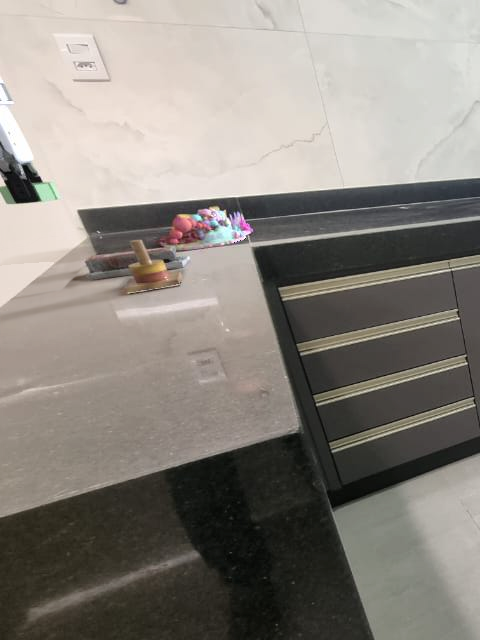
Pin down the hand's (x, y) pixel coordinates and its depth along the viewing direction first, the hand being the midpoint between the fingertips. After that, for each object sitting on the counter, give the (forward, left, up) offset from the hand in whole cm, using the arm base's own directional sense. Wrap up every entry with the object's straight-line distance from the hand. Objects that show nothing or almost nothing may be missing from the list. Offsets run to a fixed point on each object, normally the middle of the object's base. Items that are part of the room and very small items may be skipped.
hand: (33, 199), depth 100 cm
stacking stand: (+11, +2, -20) cm, 23 cm away
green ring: (0, 0, 0) cm, 0 cm away
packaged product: (+7, +23, -20) cm, 31 cm away
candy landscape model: (+20, +55, -20) cm, 62 cm away
